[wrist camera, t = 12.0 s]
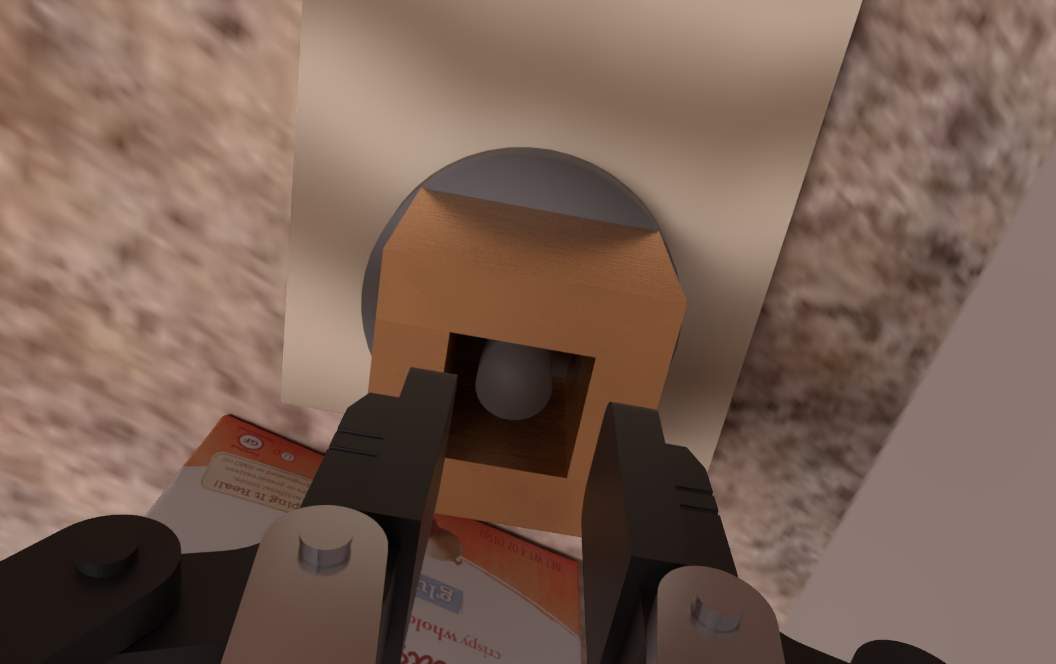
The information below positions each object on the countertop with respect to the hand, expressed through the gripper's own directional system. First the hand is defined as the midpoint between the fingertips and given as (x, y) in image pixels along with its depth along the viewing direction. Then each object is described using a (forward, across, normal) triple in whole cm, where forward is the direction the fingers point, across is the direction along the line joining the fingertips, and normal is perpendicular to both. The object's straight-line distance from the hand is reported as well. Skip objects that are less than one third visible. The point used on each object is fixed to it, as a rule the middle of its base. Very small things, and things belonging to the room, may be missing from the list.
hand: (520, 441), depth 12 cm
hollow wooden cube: (+10, 0, +2) cm, 10 cm away
